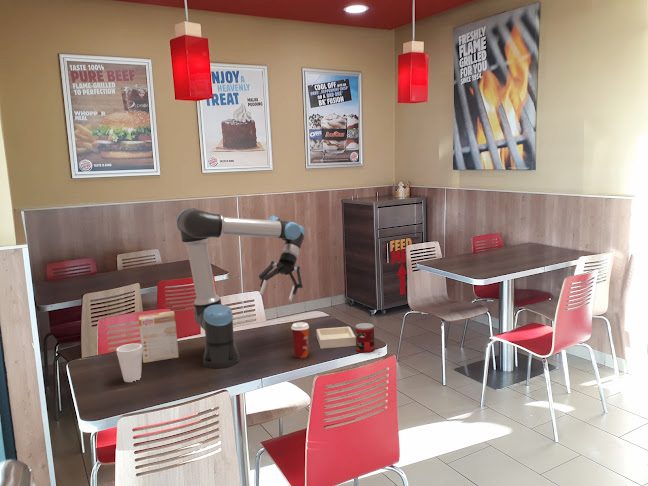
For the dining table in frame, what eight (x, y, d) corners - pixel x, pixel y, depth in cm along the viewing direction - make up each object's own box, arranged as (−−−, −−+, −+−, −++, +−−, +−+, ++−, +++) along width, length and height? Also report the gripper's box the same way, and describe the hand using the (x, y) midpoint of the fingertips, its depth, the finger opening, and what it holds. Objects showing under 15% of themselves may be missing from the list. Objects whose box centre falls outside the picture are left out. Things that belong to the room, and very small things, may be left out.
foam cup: (136, 372, 215) (133, 341, 213) (149, 377, 209) (146, 346, 207) (115, 380, 208) (111, 348, 206) (127, 385, 202) (124, 353, 200)
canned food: (353, 348, 233) (352, 324, 231) (370, 345, 235) (369, 322, 234) (359, 354, 226) (359, 329, 224) (377, 351, 228) (376, 326, 226)
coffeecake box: (177, 352, 237) (174, 310, 234) (179, 357, 230) (175, 314, 227) (142, 357, 232) (138, 314, 229) (143, 363, 225) (138, 319, 222)
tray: (320, 348, 234) (320, 340, 233) (316, 337, 250) (316, 329, 249) (356, 345, 236) (355, 337, 235) (350, 334, 252) (349, 326, 251)
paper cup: (310, 358, 222) (308, 326, 220) (292, 359, 222) (290, 327, 220) (311, 352, 230) (309, 321, 228) (293, 352, 230) (291, 322, 228)
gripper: (316, 264, 243) (303, 306, 233) (265, 254, 248) (250, 295, 239) (314, 256, 237) (301, 299, 227) (262, 246, 242) (247, 287, 232)
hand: (275, 297), depth 233 cm, fingers open, 13 cm apart
